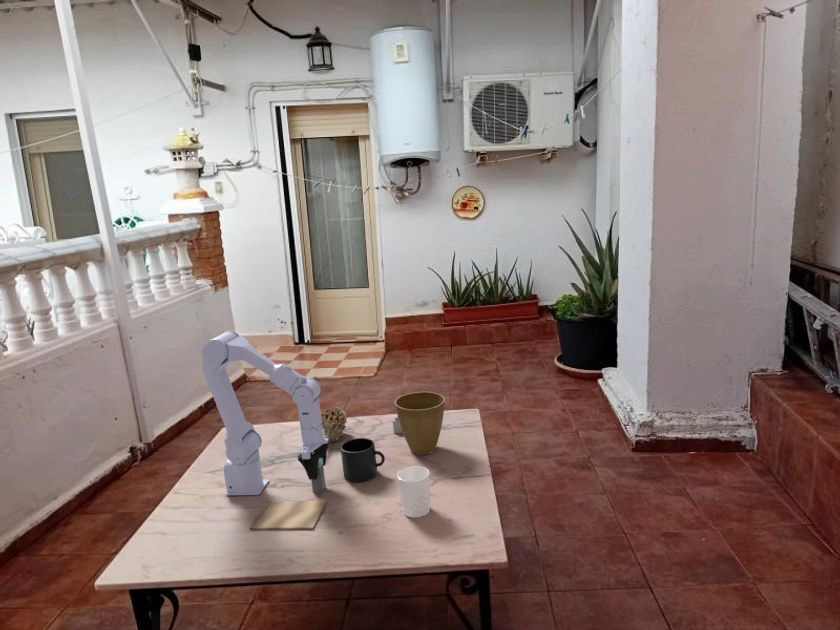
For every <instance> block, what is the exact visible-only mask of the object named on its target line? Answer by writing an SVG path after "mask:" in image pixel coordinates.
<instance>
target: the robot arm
mask: <svg viewBox="0 0 840 630" xmlns="http://www.w3.org/2000/svg"><path fill="white" fill-rule="evenodd" d="M200 352H201V355H202V372H203V375H204V378H205V380H206V382H207V385H208V387H209V390H210V392H211V395H212V397H213V400H214V402H215V404H216V408H217V409H218V412H219V415H220V418H221V420H222V422H223V425H224V427H225V430H226V431H225V432H226V433H225V436H224V441H223V442H224V444H225V455H226V458H227V460H225V462H224V467H223V475H224V483H225V487H226V492H225V496H258V495H260V494H261V492H262V491H263V490H264V488H266V486H267V485H268V483H269V481H270V479H268V478H267V479H266V478H264V477H263V471H262V463H261V457H260V450H259V449H260V448H261V446H262V444H263V443H262V442H263V439H262V436H261V435H260V433H258V431H257V430H256V429H255V427H254V425H253V424H252V423H250V422H248V421H247V420H246V418H245V415H244V413H243V410H242V407H241V405H240V403H239V400H238V398H237V395H236V393H235V390H234V387H233V385H232V382H231V379H230V377H229V375H228V372H227V369H226V368H227V367H228V365H229V363H230V362H236V361H237V362H239V361H243V362H245V363H247V364H248V365H250V366H252V367H254V368H256V369H257V370H259V371H261V372H263V373H264V374H266V375H268V376H269V381H270V383H272V384H273V385H276V387H277V388H280V389H281V390H283V391H284V392H286V394H287V393H288V395H290V396H291V398H292V401H293V402H294V403H295V404H296V406H297V411H298V419H299V420H298V421H299V426H300V433H301V435H300V436H301V453H299V454H298V456H297V459H298V462H299V463H300V464H301V465H302V467H303V468H304V471H305V473H306V475H307V477H308V480H310V481H311V480H314V479H317V478H318V462H319V458H323V467H324V466H326V462H327V454H328V453H327V452H328V448H329V447H328V446H329V444H330V443H329V441H330V438H325V437H324V436H325V431H324V429H323V426H322V418H321V413H322V412H321V411H322V410H321V405H320V398H319V396H320V394H321V391H322V387H321V385H320V382H319V381H318V380H316V379H315V378H314V377H307V376H306V375H302V374H301V373H299V372H297V371H296V370H294V369H293V368H292V366H291V365H290V364H289V363H288V364H285V363H278V364H277V363H276V362H274V361H273V360H272V359H270V358H269V357H268V356H267V355H265V354H263V353H262V352H261V351H259V350H258V349H257V348H255V347H254V346H253V345H252V344H250V343H249V342H248V341H247V339H246V338H245V337H244V336H242V335H240V334H239V333H237V332H236V331H234V330H226V331H224V332H222V333H221V334H219V335H217V336H216V337H214V338H211V339H209V340H208V341H206V343H205V344H204V346H203V347H202V349H201V351H200Z"/></svg>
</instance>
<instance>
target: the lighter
mask: <svg viewBox="0 0 840 630" xmlns="http://www.w3.org/2000/svg"><path fill="white" fill-rule="evenodd" d="M392 430H393V434H395V435H396V434H403V431H402V429H401V426H400V422H399V419H398V415H397V416H395V417H394V418H393V419H392Z"/></svg>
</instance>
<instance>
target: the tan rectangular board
mask: <svg viewBox="0 0 840 630" xmlns="http://www.w3.org/2000/svg"><path fill="white" fill-rule="evenodd" d="M327 503H328V502H327V501H326V500H321V501H320V500H317V501H316V500H315V501H313V500H309V501H307V500H306V501H305V500H304V501H301V500H300V501H266V503H265V504H264V506H263V507H262V509H261V510H260V511H259V513H258V514H257V516H256V517H255V519H254V520H253V522H252V523H251V524H250V526H249V527H248V529H249V530H250V531H251V530H252V531H254V530H256V531H257V530H260V531H261V530H262V531H263V530H266V531H268V530H271V531H272V530H279V531H280V530H282V531H283V530H285V531H286V530H314V529H315V527H316V525H317V523H318V522H319V519H320V517H321V515H322V513H323V511H324V509H325V507H326V505H327Z"/></svg>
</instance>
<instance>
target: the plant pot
mask: <svg viewBox="0 0 840 630" xmlns="http://www.w3.org/2000/svg"><path fill="white" fill-rule="evenodd" d="M445 402H446V398H445V396H443V395H442V394H439V393H437V392H431V391H416V392H410V393H406V394H404V395H400V396H398V397H396V399H395V400H394V406H395V411H396V415H397V416H398V419H399V422H400V426H401V429H402V431H403V433H402V434H403V436H404V439H405V441H406V444H407V446H408V448H409V450H410V452H411V453H413V454H414V455H417V454H418V456H425V455H424V454H427V455H430V454H432V453H434V452H435V451H434V450H436V448H437V445H438V442H439V439H440V435H441V430H442V425H443V421H444V413H445V405H446V404H445ZM433 451H434V452H433ZM431 452H432V453H431ZM429 453H430V454H429Z"/></svg>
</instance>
